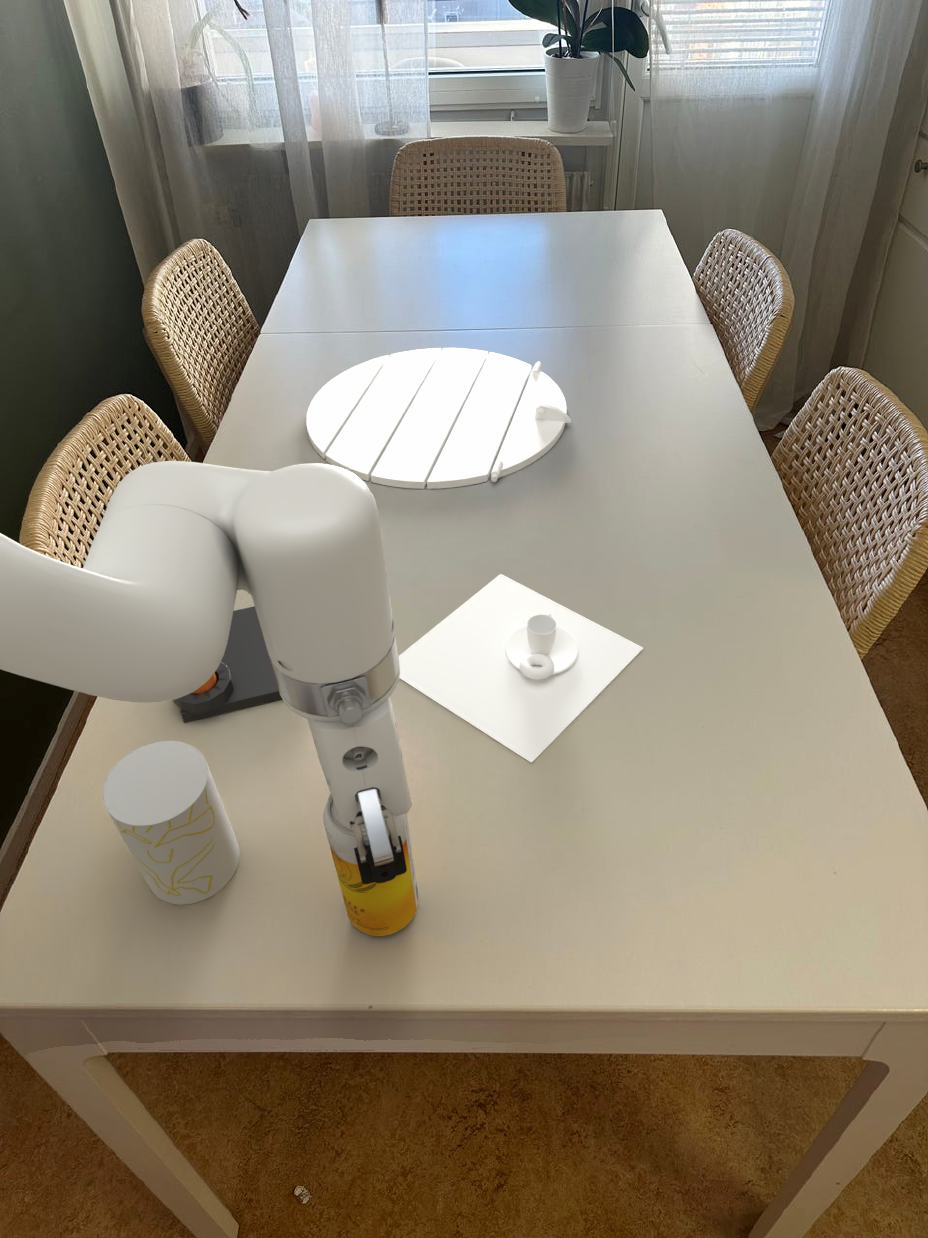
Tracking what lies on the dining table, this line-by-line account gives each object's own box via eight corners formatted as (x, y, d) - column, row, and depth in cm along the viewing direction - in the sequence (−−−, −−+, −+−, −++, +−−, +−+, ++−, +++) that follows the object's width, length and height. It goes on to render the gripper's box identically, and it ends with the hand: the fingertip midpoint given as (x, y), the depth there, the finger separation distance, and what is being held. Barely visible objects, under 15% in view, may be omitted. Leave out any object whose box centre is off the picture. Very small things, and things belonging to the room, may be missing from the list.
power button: (186, 697, 88) (182, 687, 86) (184, 675, 90) (180, 665, 89) (217, 690, 88) (214, 679, 87) (215, 668, 90) (211, 658, 89)
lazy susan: (589, 365, 141) (590, 345, 139) (546, 505, 114) (547, 483, 111) (357, 345, 149) (355, 326, 147) (265, 471, 122) (260, 450, 119)
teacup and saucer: (544, 694, 90) (545, 667, 87) (485, 659, 94) (484, 632, 91) (592, 647, 94) (595, 620, 92) (534, 616, 98) (535, 589, 95)
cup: (146, 915, 73) (101, 837, 65) (146, 835, 79) (104, 754, 71) (243, 890, 75) (211, 810, 66) (235, 813, 80) (205, 731, 72)
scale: (179, 728, 88) (171, 709, 86) (171, 633, 98) (164, 614, 96) (320, 694, 91) (315, 675, 89) (299, 605, 101) (294, 586, 99)
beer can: (340, 885, 75) (314, 781, 64) (409, 865, 76) (393, 760, 66) (355, 950, 70) (329, 850, 60) (427, 928, 72) (414, 825, 61)
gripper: (433, 751, 47) (450, 908, 59) (366, 560, 59) (392, 721, 71) (296, 788, 46) (341, 940, 57) (257, 584, 58) (301, 744, 70)
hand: (369, 819), depth 64 cm, fingers open, 9 cm apart
